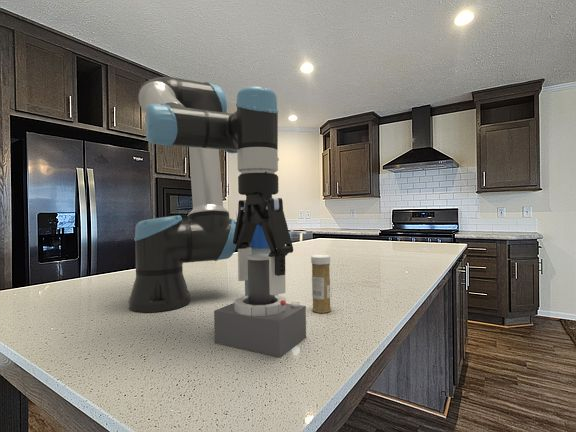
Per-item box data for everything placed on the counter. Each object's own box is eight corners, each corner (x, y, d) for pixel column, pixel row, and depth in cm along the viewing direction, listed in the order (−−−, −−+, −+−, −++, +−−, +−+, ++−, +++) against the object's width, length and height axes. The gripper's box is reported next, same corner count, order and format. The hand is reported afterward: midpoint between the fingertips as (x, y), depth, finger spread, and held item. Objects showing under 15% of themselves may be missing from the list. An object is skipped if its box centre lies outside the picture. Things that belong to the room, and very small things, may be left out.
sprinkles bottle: (334, 311, 81) (334, 255, 81) (320, 314, 79) (319, 257, 78) (322, 307, 85) (321, 253, 85) (308, 310, 82) (307, 255, 82)
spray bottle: (269, 306, 87) (267, 208, 86) (239, 303, 90) (237, 209, 90) (282, 297, 95) (281, 208, 95) (254, 295, 98) (253, 209, 98)
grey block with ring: (214, 342, 63) (213, 299, 63) (246, 326, 71) (245, 288, 71) (279, 357, 56) (279, 308, 56) (306, 337, 65) (305, 295, 65)
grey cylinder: (250, 313, 60) (249, 257, 60) (246, 305, 66) (245, 254, 65) (279, 310, 62) (278, 256, 62) (273, 303, 67) (272, 252, 67)
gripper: (313, 166, 55) (314, 297, 55) (248, 179, 76) (250, 273, 76) (272, 164, 51) (274, 304, 51) (216, 178, 72) (218, 277, 72)
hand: (259, 286), depth 64 cm, fingers open, 13 cm apart
